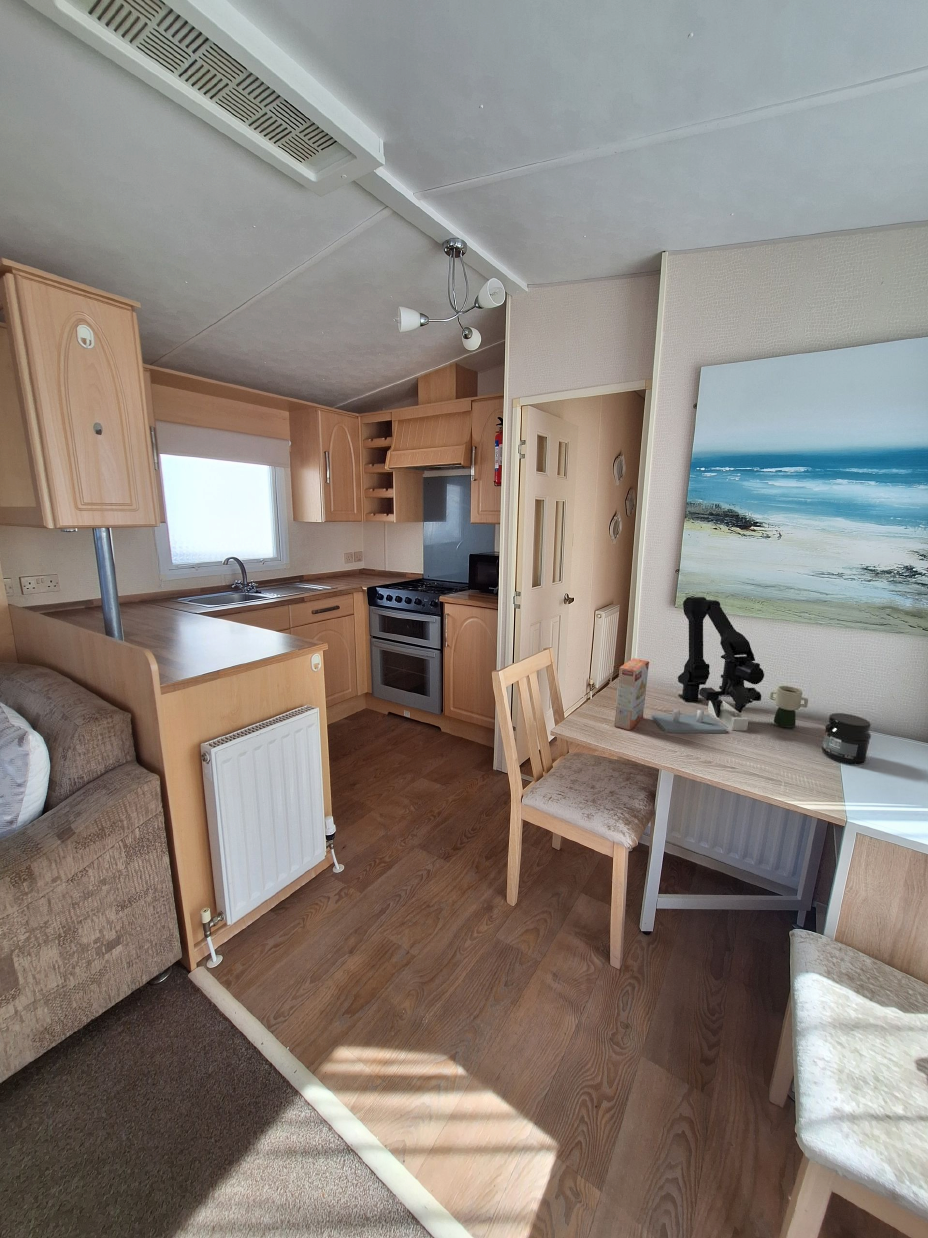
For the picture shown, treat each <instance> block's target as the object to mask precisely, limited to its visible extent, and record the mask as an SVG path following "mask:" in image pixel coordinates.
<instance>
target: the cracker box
mask: <svg viewBox="0 0 928 1238" xmlns="http://www.w3.org/2000/svg"><path fill="white" fill-rule="evenodd" d="M649 665H650V661H649V660H645V659H641V658H631V659H630V660H629V661H627V662H626V663H624V664H623V665H621V666H620V667H619V672H618V683H617V692H616V703H615V714H614V723H613V725H614V726H613V727H616V728H620V729H623V730H626V731H631V730H632V729H633V728H634V727H635V726H636V725H637V724H638V723H639V722H640V721H641V720H642V719H643V718H644V710H645V705H646V703H645V701H646V694H647V684H648V674H649Z"/></svg>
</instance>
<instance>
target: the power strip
mask: <svg viewBox="0 0 928 1238" xmlns="http://www.w3.org/2000/svg"><path fill="white" fill-rule="evenodd" d="M722 701H723V703H722V704H721V708H720V716H719V718H717V717H716V714H715V711H714V708H713V705H712V703H711V701H708V708H707V711H708V713H710V714H711V715H712V717H715V718H716V719H717V720H718V721H720V722H721V723H722V724H723V725H725V726H726V727H727V728H728V729H730V730H731V731H748V728H749V727H748V726H749V717H746V716H745V715H744V714H743V713H742V712H741V713H739V712H738V711H737V710H735V707H732V706H731V705H730V704H729V703H727V702H725V701H724V700H722Z"/></svg>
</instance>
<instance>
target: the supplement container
mask: <svg viewBox="0 0 928 1238" xmlns="http://www.w3.org/2000/svg"><path fill="white" fill-rule="evenodd" d="M871 726H872V724H871V722H870V721H869V720H867V719H866V718H863V717H861V716H858V715H853V714H849V713H843V712H841V713H840V712H835V713H831V714H830V715H829V716H828V723H826V724H825V726H824V728H825V730H824V736H823V742H822V745H821V752H822V753H823V754H824V755H825V757H827V758H829V759H831V760H832V761H835V762H838V763H841V764H845V763H846V764H847V765H852V764H857V765H863V764H864V763H865V762H866V761H867V756H868V749H869V745H870V740H871V738H872V735H871V731H870V730H871Z"/></svg>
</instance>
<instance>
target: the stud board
mask: <svg viewBox="0 0 928 1238" xmlns="http://www.w3.org/2000/svg"><path fill="white" fill-rule="evenodd" d="M696 713H697V714H681V711H680V710H679V709H673V714H671V713H670V714H668V713H666V714H663V713H662V714H661V713H659V714H658V713H657V714H656V713H653V714H651V715H650V719H652V720H653V722H655V723H656V724H657V725H658V726H659V727H660V729H661V730H662V731H663V732H664V733H665V734H667V733H668V734H670V733H674V734H675V733H677V734H680V733H681V734H683V733H684V734H685V733H687V734H688V733H690V734H692V733H693V734H695V733H697V734H706V733H708V734H710V733H711V734H714V733H715V734H726V733H727V728H725V727H724V726H723V725H722V724H721V723H719V722H718V721H717V720H716V719H715V718H713V716H711V715H710V714H705V711H704V710H703V709H697V712H696Z"/></svg>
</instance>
